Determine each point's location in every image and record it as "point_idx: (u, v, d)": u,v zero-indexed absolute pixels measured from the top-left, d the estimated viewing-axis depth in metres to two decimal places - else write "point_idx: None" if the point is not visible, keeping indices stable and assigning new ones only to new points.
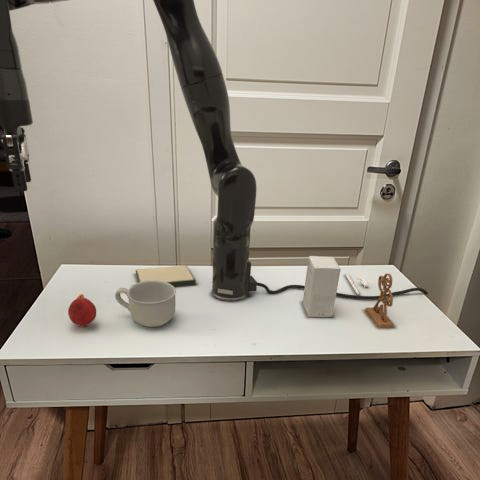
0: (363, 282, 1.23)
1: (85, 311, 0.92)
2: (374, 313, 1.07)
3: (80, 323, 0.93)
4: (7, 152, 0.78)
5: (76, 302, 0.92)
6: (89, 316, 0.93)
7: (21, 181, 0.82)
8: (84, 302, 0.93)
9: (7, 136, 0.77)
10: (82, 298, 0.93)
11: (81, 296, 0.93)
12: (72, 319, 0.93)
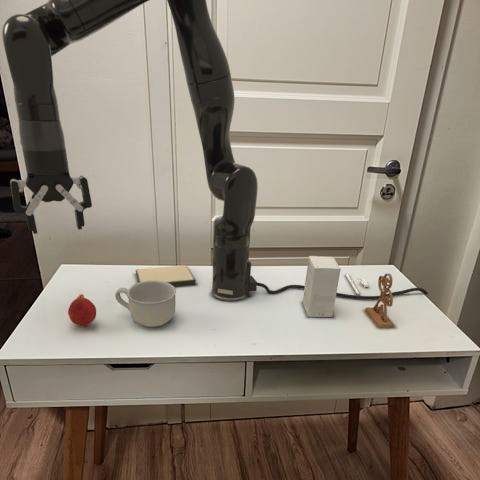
0: (363, 282, 1.23)
1: (85, 311, 0.92)
2: (374, 313, 1.07)
3: (80, 323, 0.93)
4: (12, 195, 0.82)
5: (76, 302, 0.92)
6: (89, 316, 0.93)
7: (27, 223, 0.84)
8: (84, 302, 0.93)
9: (10, 181, 0.80)
10: (82, 298, 0.93)
11: (81, 296, 0.93)
12: (72, 319, 0.93)
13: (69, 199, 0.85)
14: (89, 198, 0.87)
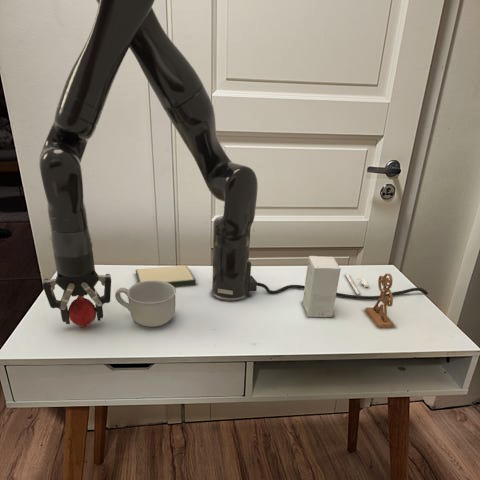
0: (363, 282, 1.23)
1: (85, 311, 0.92)
2: (374, 313, 1.07)
3: (80, 323, 0.93)
4: None
5: (76, 302, 0.92)
6: (89, 316, 0.93)
7: (61, 315, 0.93)
8: (84, 302, 0.93)
9: (43, 282, 0.89)
10: (82, 298, 0.93)
11: (81, 296, 0.93)
12: (72, 319, 0.93)
13: (91, 295, 0.92)
14: (109, 295, 0.94)
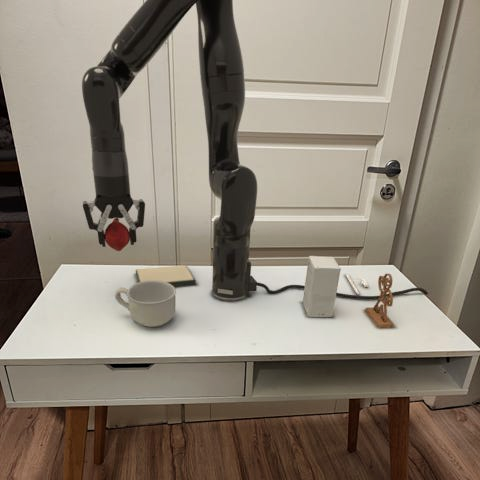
0: (363, 282, 1.23)
1: (120, 233, 0.99)
2: (374, 313, 1.07)
3: (116, 245, 1.00)
4: None
5: (112, 224, 0.99)
6: (124, 238, 1.00)
7: (98, 238, 1.00)
8: (120, 225, 1.00)
9: None
10: (117, 221, 1.00)
11: (117, 219, 1.00)
12: (108, 241, 1.00)
13: (126, 218, 0.99)
14: (142, 219, 1.00)
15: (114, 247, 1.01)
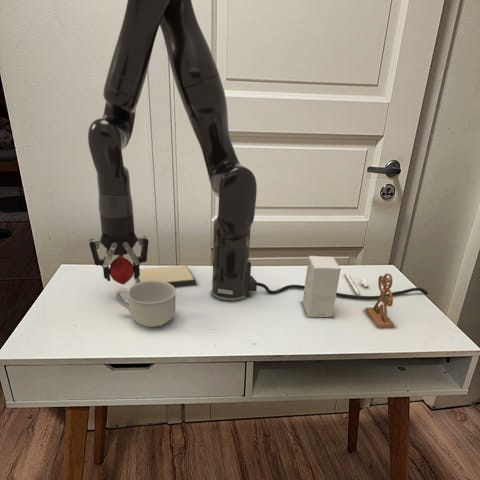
0: (363, 282, 1.23)
1: (124, 269, 1.04)
2: (374, 313, 1.07)
3: (120, 280, 1.05)
4: None
5: (117, 260, 1.04)
6: (128, 273, 1.05)
7: None
8: (124, 260, 1.05)
9: (89, 241, 1.01)
10: (122, 257, 1.05)
11: (121, 255, 1.05)
12: (113, 276, 1.05)
13: (130, 254, 1.04)
14: (146, 255, 1.05)
15: (118, 281, 1.06)
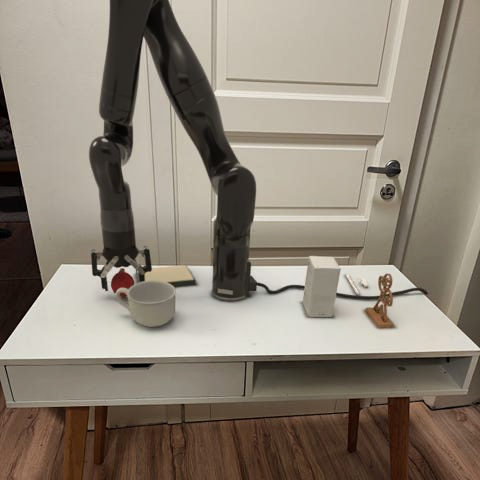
0: (363, 282, 1.23)
1: (126, 283, 1.06)
2: (374, 313, 1.07)
3: (121, 294, 1.07)
4: None
5: (118, 275, 1.06)
6: (129, 287, 1.07)
7: (101, 283, 1.06)
8: (125, 275, 1.06)
9: (91, 252, 1.02)
10: (123, 271, 1.07)
11: (122, 270, 1.06)
12: (115, 290, 1.06)
13: (134, 266, 1.05)
14: (150, 264, 1.07)
15: (120, 295, 1.08)
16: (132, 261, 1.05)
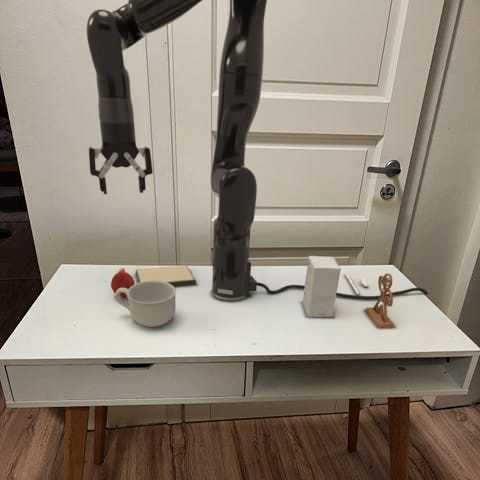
0: (363, 282, 1.23)
1: (126, 283, 1.06)
2: (374, 313, 1.07)
3: (121, 294, 1.07)
4: (89, 160, 0.99)
5: (118, 275, 1.06)
6: (129, 287, 1.07)
7: None
8: (125, 275, 1.06)
9: (89, 148, 0.98)
10: (123, 271, 1.07)
11: (122, 270, 1.06)
12: (115, 290, 1.06)
13: (134, 165, 1.01)
14: (150, 166, 1.03)
15: (120, 295, 1.08)
16: (132, 160, 1.00)
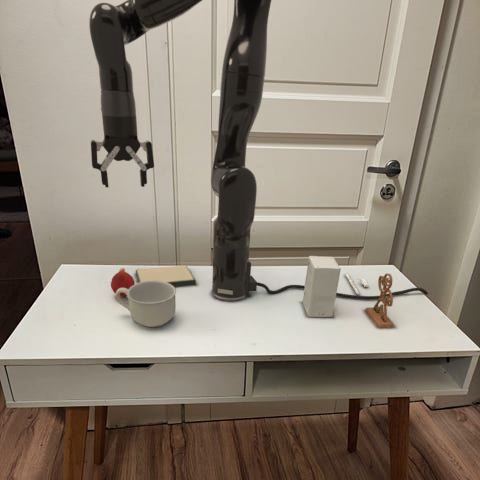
0: (363, 282, 1.23)
1: (126, 283, 1.06)
2: (374, 313, 1.07)
3: (121, 294, 1.07)
4: (91, 153, 1.00)
5: (119, 275, 1.06)
6: (129, 287, 1.07)
7: (101, 178, 1.02)
8: (125, 275, 1.06)
9: (91, 141, 0.98)
10: (123, 271, 1.07)
11: (122, 270, 1.06)
12: (115, 290, 1.06)
13: (136, 159, 1.01)
14: (152, 160, 1.03)
15: (120, 295, 1.08)
16: (134, 154, 1.01)
